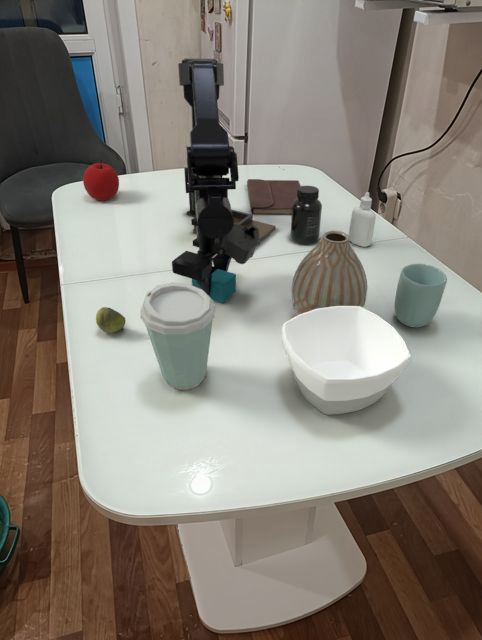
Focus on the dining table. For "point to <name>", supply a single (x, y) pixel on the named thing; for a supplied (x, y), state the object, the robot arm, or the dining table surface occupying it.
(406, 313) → the cup
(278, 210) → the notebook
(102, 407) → the dining table surface
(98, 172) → the apple
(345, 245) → the vase
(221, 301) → the block
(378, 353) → the bowl
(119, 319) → the lime
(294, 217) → the supplement bottle
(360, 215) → the eye dropper bottle
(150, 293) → the disposable coffee cup
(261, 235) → the brown wooden tray
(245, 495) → the dining table surface
